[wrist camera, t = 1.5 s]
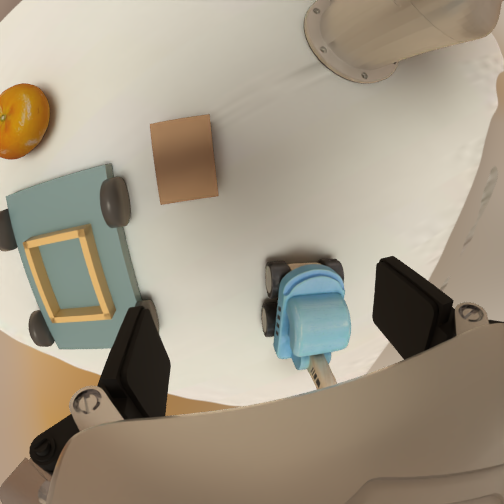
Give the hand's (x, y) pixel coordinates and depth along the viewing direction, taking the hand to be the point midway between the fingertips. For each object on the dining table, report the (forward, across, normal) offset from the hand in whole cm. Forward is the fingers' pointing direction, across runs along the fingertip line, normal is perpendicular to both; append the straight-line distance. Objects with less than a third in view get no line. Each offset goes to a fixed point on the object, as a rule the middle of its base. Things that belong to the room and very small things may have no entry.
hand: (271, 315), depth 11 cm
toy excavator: (+21, -5, +14) cm, 26 cm away
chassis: (+20, +20, +3) cm, 29 cm away
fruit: (+21, +22, -16) cm, 34 cm away
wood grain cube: (+21, +4, -6) cm, 22 cm away
